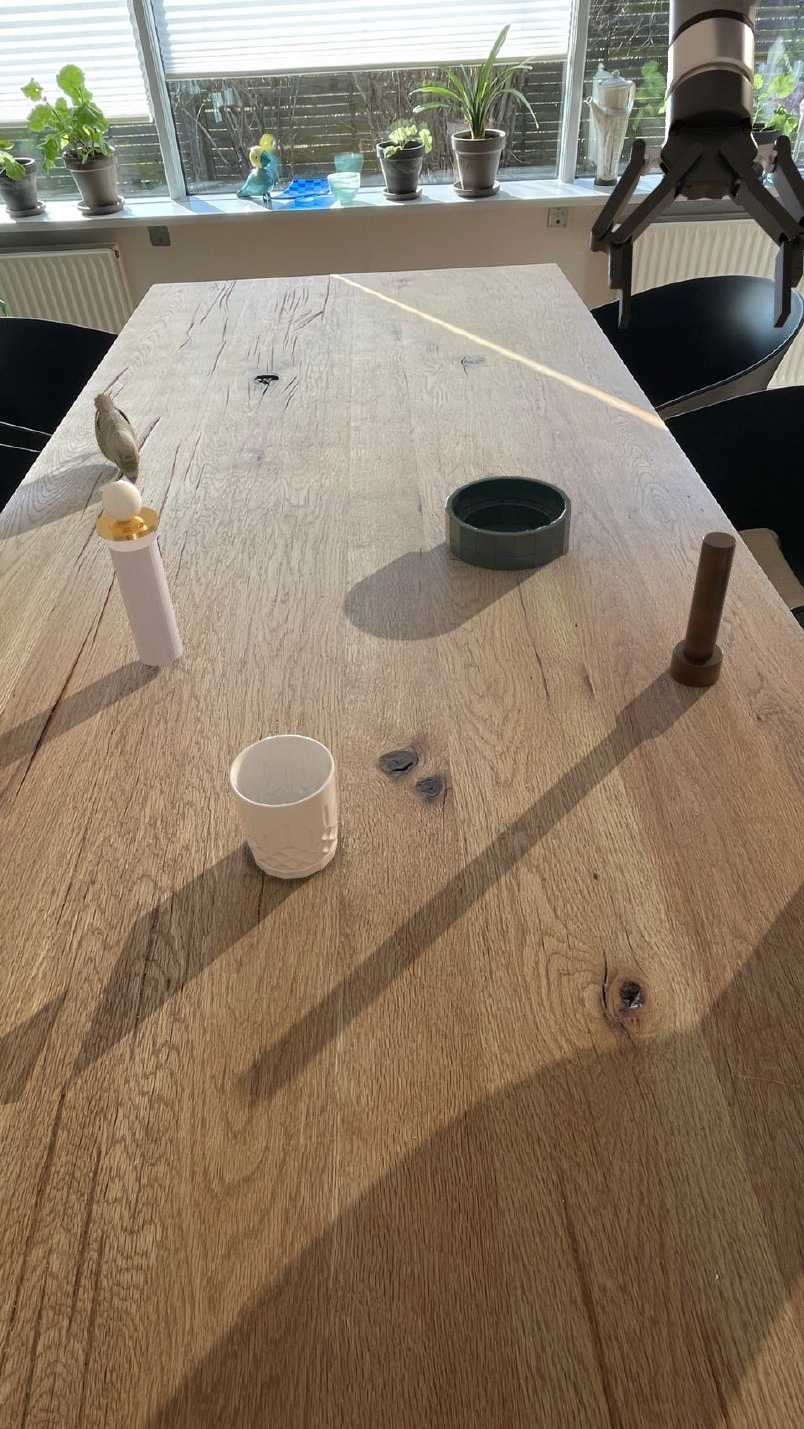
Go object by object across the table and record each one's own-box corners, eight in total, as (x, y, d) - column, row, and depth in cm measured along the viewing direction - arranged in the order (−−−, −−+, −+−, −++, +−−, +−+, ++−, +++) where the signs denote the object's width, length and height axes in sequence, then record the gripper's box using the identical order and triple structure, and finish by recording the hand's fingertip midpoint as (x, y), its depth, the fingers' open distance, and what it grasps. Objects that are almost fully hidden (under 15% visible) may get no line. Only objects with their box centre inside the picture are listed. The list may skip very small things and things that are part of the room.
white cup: (305, 911, 73) (290, 821, 67) (228, 871, 77) (206, 782, 70) (364, 845, 78) (354, 756, 72) (289, 810, 82) (273, 722, 75)
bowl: (567, 521, 118) (570, 476, 114) (568, 583, 107) (571, 536, 103) (451, 519, 120) (451, 475, 116) (441, 580, 109) (440, 533, 105)
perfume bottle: (190, 670, 98) (148, 493, 85) (133, 678, 97) (82, 501, 84) (190, 639, 102) (149, 465, 89) (135, 646, 101) (87, 473, 89)
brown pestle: (713, 671, 94) (743, 527, 83) (719, 700, 90) (751, 554, 80) (665, 669, 94) (689, 526, 84) (669, 698, 91) (695, 552, 80)
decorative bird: (115, 489, 130) (101, 437, 126) (94, 446, 142) (81, 397, 137) (154, 480, 132) (142, 429, 127) (130, 438, 144) (119, 390, 139)
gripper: (839, 120, 88) (835, 340, 87) (568, 129, 91) (558, 341, 90) (869, 58, 81) (865, 297, 79) (572, 70, 84) (562, 300, 82)
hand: (702, 321), depth 84 cm, fingers open, 13 cm apart
